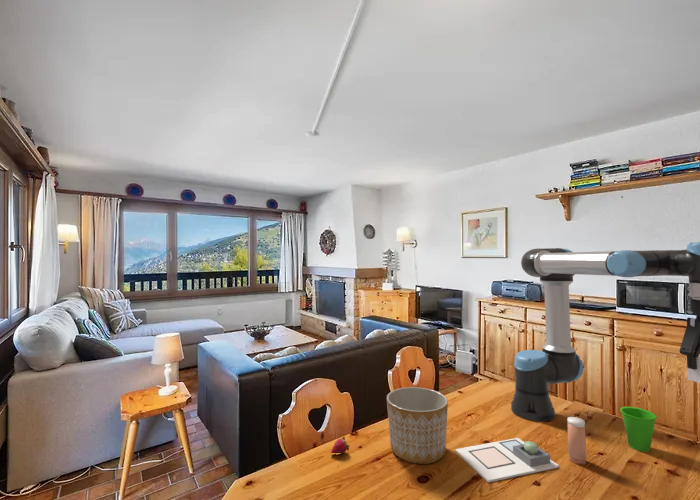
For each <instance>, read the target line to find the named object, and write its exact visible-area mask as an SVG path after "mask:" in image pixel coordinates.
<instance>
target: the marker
mask: <svg viewBox="0 0 700 500" xmlns="http://www.w3.org/2000/svg"><path fill="white" fill-rule="evenodd" d="M566 421H567V444H568V446H567V447H568V450H567V451H568V457H569V460H570V462H572V463H573V464H576V465H580V466H584V465H586V460H587V444H586V443H587V442H586V422H585V420H584V419H583V418H579V417H576V416H569V417H567V419H566Z"/></svg>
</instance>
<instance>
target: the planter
mask: <svg viewBox="0 0 700 500" xmlns="http://www.w3.org/2000/svg"><path fill="white" fill-rule="evenodd" d="M448 400H449V399H448V398H447V397H446V396H445V395H444V394H443V393H441V392H439V391H436V390H434V389H430V388H426V387H419V386H418V387H416V386H415V387H414V386H408V387H406V386H405V387H400V388H396V389H394V390H391V391H390V392H389V393H388V394H387V395H386V406H387V407H386V408H387V418H388V419H387V420H388V429H389V440H390V447H391V449H392V452H393V453H394V454H395V455H396V456H397V457H399V458H400V459H401V458H402V459H401V460H403V459H404V461H405V460H406V461H405V462H408V461H409V463H411V462H412V464H417V463H418V465H419V464H421V465H426V464H432V463H435V462H437V461H439V460H441V459H442V458H443V457H444V455H445V453H446V448H447V429H448V428H447V427H448V425H447V424H448V408H449V406H448V405H449V404H448V403H449V401H448Z"/></svg>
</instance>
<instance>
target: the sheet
mask: <svg viewBox="0 0 700 500" xmlns="http://www.w3.org/2000/svg"><path fill="white" fill-rule="evenodd" d="M524 442H525V441H523V440H522V439H520V438H519V437H515V438H510V439H503V440H499V441H493V442H488V443H481V444H478V445H477V444H476V445H471V446H466V447H459V448H456V449H454V452H455V453H456V454H457V455H458V456H459V457H461V458H462V459H463V461H465V462H466V463H467V464H468V465H469V466H470V467H471V468H472V469H473V470H474V471H475V472H476V473H478V475H479V476H480V477H482V479H483V480H485V481H486V483H493V482H498V481H503V480H506V479H512V478H517V477H520V476H521V477H522V476H525V475H526V476H527V475H530V474H534V473H535V474H536V473H538V472H539V473H540V472H544V471H548V470H553V469H557V468H559V466H560V465H559V464H558V463H556V462H555V461H553V460H552V459H550V463H549V464H544V465H539V466H535V467H530V466H528V465H527V464H526V463H524V462H523V461H522V460H520V459H519V458H518V457H516V456H515V455H514V454H513V446H517V445H522V444H524ZM530 456H531V455H530Z"/></svg>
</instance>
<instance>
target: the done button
mask: <svg viewBox="0 0 700 500" xmlns="http://www.w3.org/2000/svg"><path fill="white" fill-rule="evenodd" d="M538 447H539V445H538V444H537V443H536V442H534V441H530V440H527V441H524V452H526V453H527V454H529V455H531V456H532V455H537V454H538Z"/></svg>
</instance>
